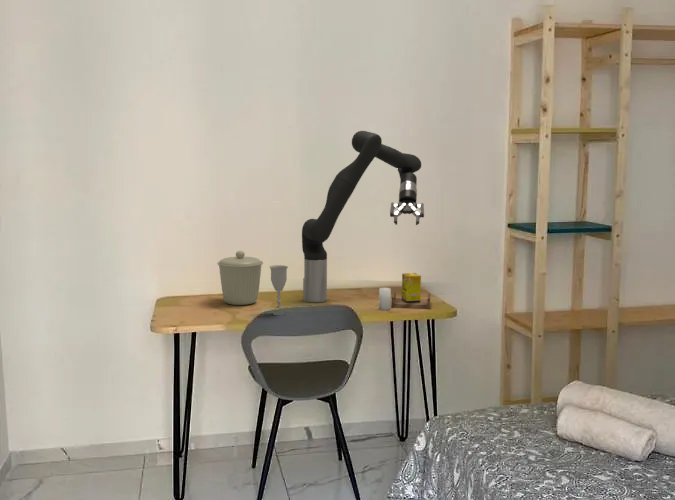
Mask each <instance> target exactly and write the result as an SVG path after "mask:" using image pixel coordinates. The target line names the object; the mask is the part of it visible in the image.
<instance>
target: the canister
mask: <svg viewBox="0 0 675 500" xmlns="http://www.w3.org/2000/svg"><path fill="white" fill-rule="evenodd" d="M245 254H246V253H245V252H244V251H243V250H238V251H236V252H235V256H228V257H224V258H222V259H220V260H219V261H217V265H218V267H219V269H218V270H219V275H220V283H221V284H220V285H221V292H222V296H223V300H224V302H225V304H227V305H228V304H229V305H233V306H246V305H252V304H254V303H256V301H257V300H258V298H259V292H260V282H261V275H262V274H261V273H262V265H263V264H264V262H263V261H262V260H260V259H259V258H257V257H252V256H245Z"/></svg>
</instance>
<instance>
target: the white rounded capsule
mask: <svg viewBox="0 0 675 500" xmlns="http://www.w3.org/2000/svg"><path fill="white" fill-rule="evenodd" d="M391 293H392V289H391V287H379V293H378V295H379V297H378V299H379V301H378V305H379V306H378V307H379V308H378V310H380V311H389V310H391V308H392V294H391Z"/></svg>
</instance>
